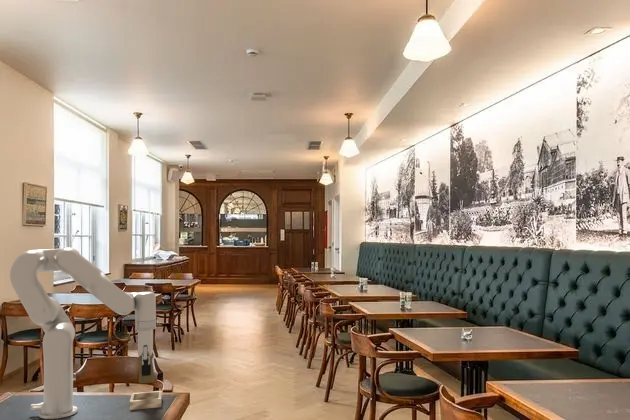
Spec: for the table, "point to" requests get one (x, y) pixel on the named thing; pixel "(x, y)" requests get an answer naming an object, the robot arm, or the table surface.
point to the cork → (151, 377)
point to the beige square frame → (146, 400)
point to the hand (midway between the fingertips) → (146, 373)
